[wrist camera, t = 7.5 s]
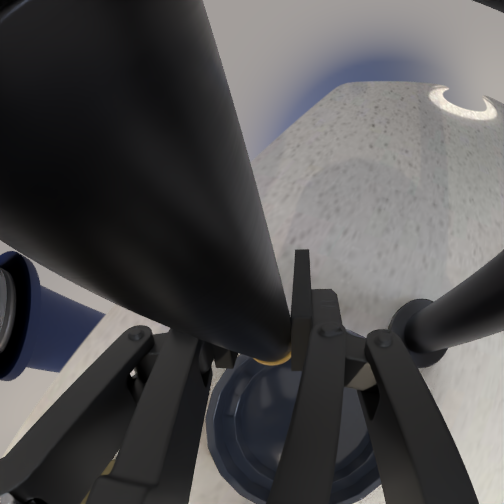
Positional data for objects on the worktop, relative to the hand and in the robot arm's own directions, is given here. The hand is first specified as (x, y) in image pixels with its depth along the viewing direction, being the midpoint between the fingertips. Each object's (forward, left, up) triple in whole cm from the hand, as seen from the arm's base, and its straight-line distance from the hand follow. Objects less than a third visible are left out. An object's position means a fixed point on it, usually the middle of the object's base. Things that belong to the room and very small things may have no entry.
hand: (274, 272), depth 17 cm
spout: (+6, +4, 0) cm, 7 cm away
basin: (+10, -2, -9) cm, 13 cm away
